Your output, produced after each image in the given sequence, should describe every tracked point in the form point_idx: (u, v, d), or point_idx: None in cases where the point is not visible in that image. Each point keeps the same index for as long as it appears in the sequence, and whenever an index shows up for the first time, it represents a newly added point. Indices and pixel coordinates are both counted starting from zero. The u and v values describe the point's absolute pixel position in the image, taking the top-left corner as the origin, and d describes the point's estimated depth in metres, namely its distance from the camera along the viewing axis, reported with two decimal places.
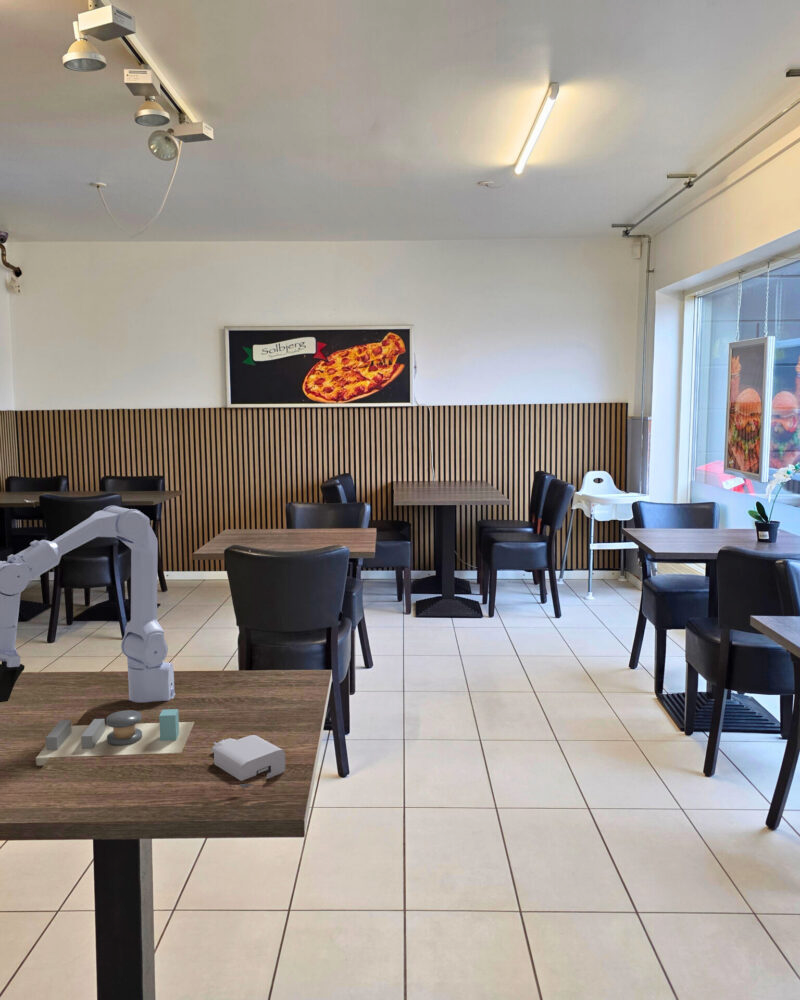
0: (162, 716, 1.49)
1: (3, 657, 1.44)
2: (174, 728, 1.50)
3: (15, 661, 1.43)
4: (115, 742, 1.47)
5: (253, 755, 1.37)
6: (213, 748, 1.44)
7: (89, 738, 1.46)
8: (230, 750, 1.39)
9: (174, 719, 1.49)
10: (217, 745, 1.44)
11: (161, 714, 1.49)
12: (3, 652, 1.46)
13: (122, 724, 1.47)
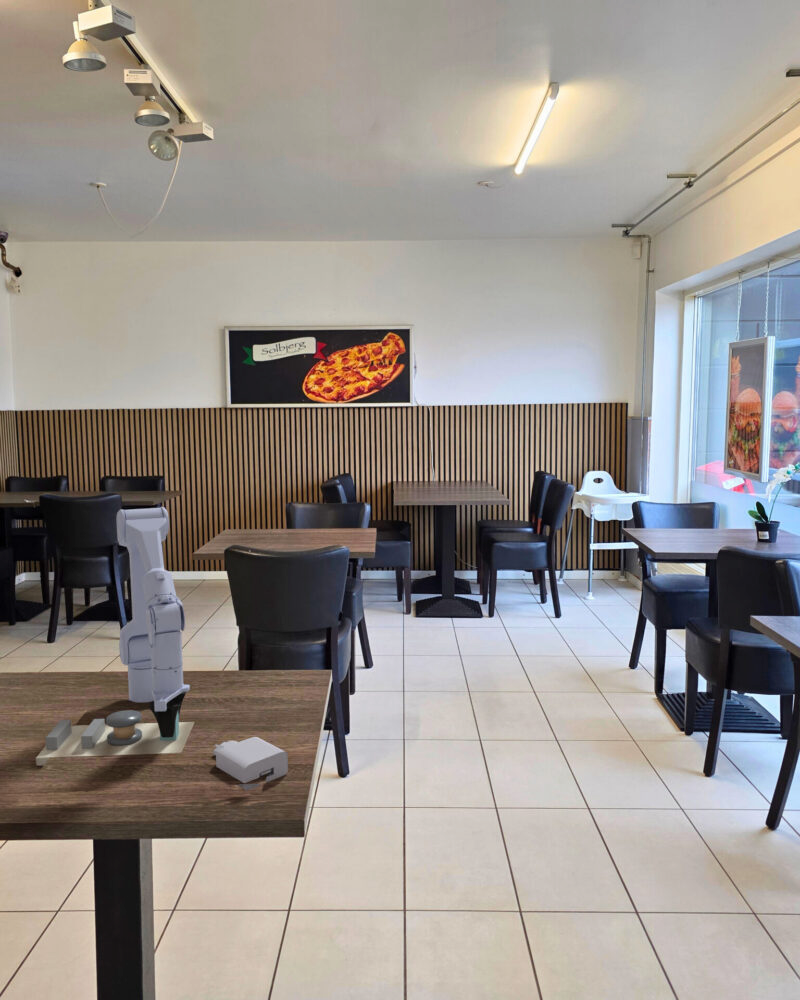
0: None
1: None
2: None
3: None
4: (115, 742, 1.47)
5: (256, 757, 1.36)
6: (215, 750, 1.43)
7: (89, 738, 1.46)
8: (232, 752, 1.38)
9: None
10: (219, 747, 1.43)
11: None
12: None
13: (122, 724, 1.47)
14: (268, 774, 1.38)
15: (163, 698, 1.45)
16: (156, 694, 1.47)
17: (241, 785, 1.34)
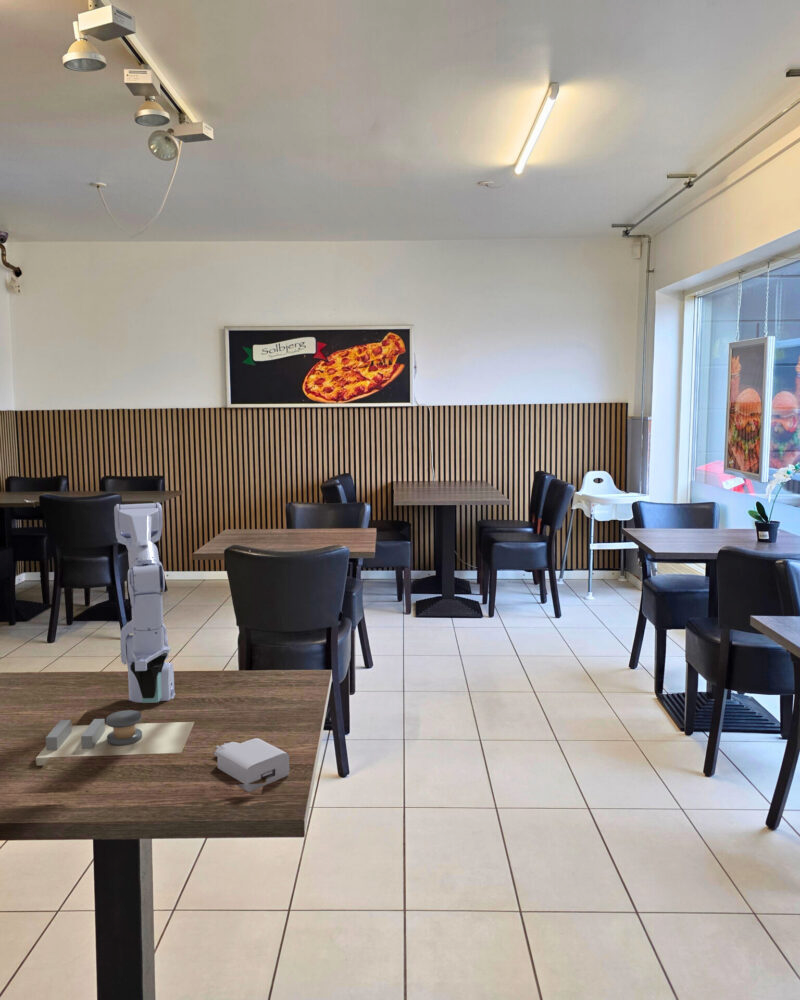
0: None
1: None
2: (156, 690, 1.51)
3: None
4: (115, 742, 1.47)
5: (257, 758, 1.36)
6: (216, 752, 1.43)
7: (89, 738, 1.46)
8: (234, 754, 1.37)
9: None
10: (220, 749, 1.43)
11: None
12: None
13: (122, 724, 1.47)
14: (269, 775, 1.37)
15: (144, 658, 1.46)
16: (137, 655, 1.48)
17: (242, 786, 1.33)
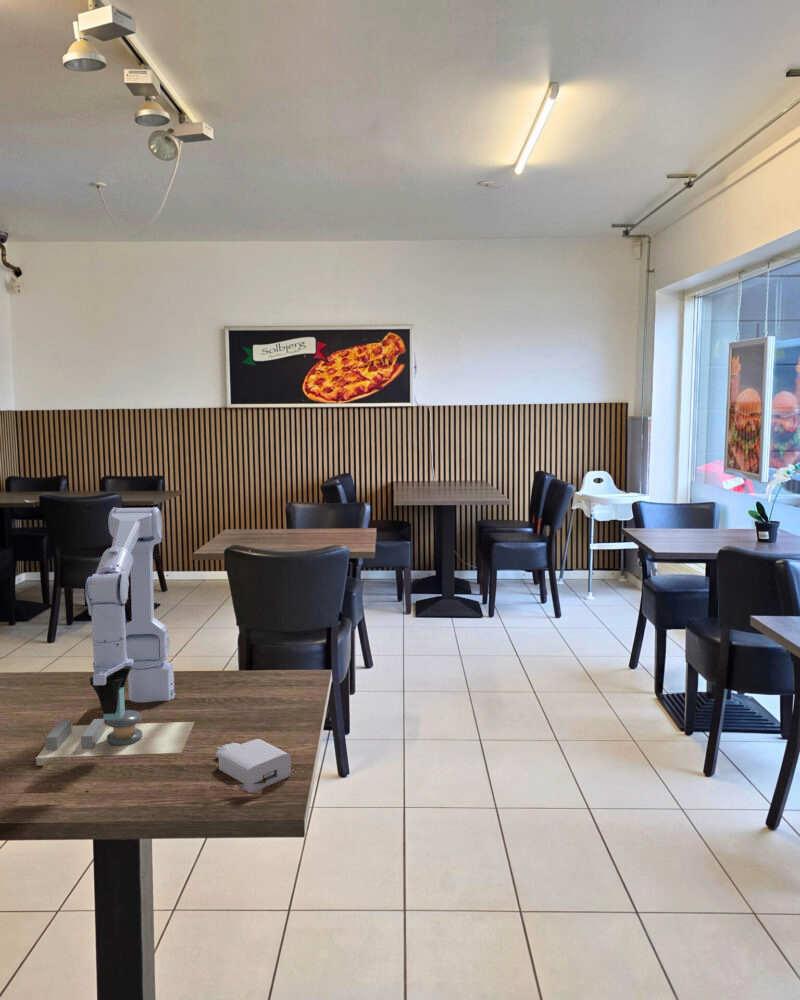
0: None
1: None
2: (118, 706, 1.43)
3: None
4: (115, 742, 1.47)
5: (259, 759, 1.35)
6: (217, 753, 1.42)
7: (89, 738, 1.46)
8: (235, 755, 1.37)
9: (118, 697, 1.43)
10: (221, 750, 1.42)
11: None
12: None
13: (122, 724, 1.47)
14: (271, 776, 1.37)
15: (103, 672, 1.38)
16: (97, 668, 1.40)
17: (244, 787, 1.33)
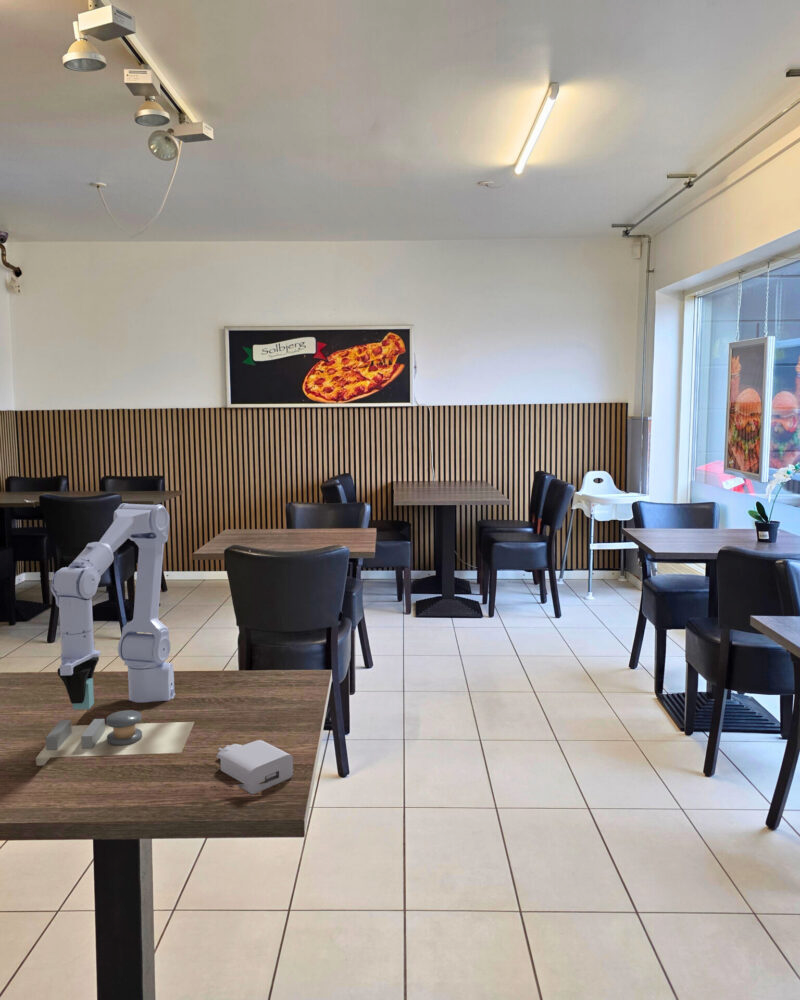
0: None
1: None
2: (87, 697, 1.48)
3: None
4: (115, 742, 1.47)
5: (261, 761, 1.35)
6: (219, 754, 1.42)
7: (89, 738, 1.46)
8: (237, 756, 1.37)
9: (87, 688, 1.48)
10: (223, 751, 1.42)
11: None
12: None
13: (122, 724, 1.47)
14: (273, 777, 1.37)
15: (70, 662, 1.43)
16: (64, 659, 1.45)
17: (246, 789, 1.32)
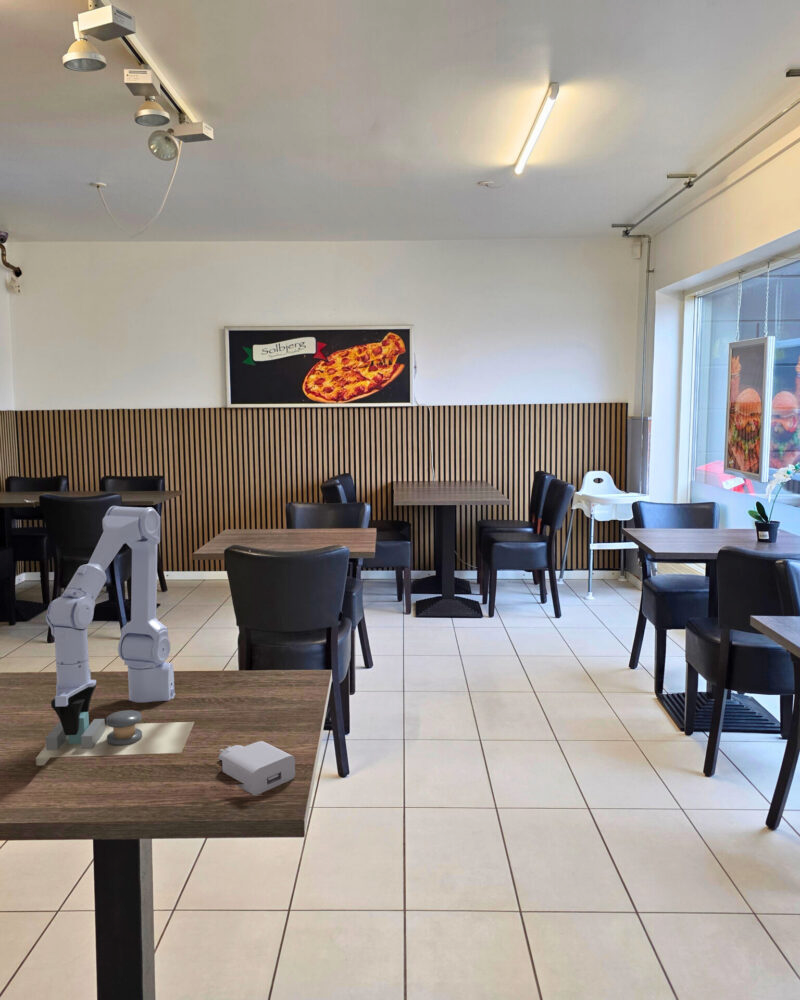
0: None
1: (89, 674, 1.54)
2: (83, 731, 1.48)
3: None
4: (115, 742, 1.47)
5: (263, 762, 1.34)
6: (220, 755, 1.41)
7: (89, 738, 1.46)
8: (239, 757, 1.36)
9: (82, 722, 1.48)
10: (224, 752, 1.42)
11: None
12: None
13: (122, 724, 1.47)
14: (275, 779, 1.36)
15: (65, 693, 1.43)
16: (60, 689, 1.45)
17: (249, 790, 1.32)
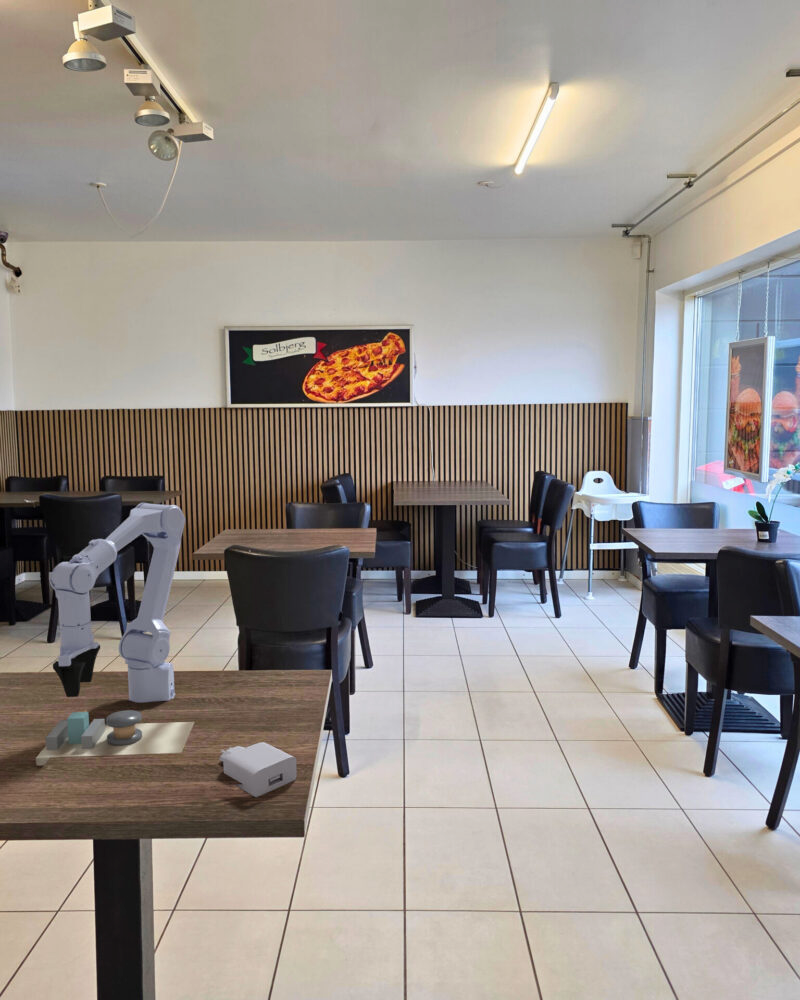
0: (70, 719, 1.48)
1: (92, 637, 1.59)
2: (83, 731, 1.48)
3: None
4: (115, 742, 1.47)
5: (265, 763, 1.34)
6: (221, 756, 1.41)
7: (89, 738, 1.46)
8: (240, 758, 1.36)
9: (82, 722, 1.48)
10: (225, 753, 1.41)
11: (69, 717, 1.48)
12: None
13: (122, 724, 1.47)
14: (277, 780, 1.36)
15: (68, 654, 1.49)
16: (63, 650, 1.51)
17: (250, 792, 1.32)
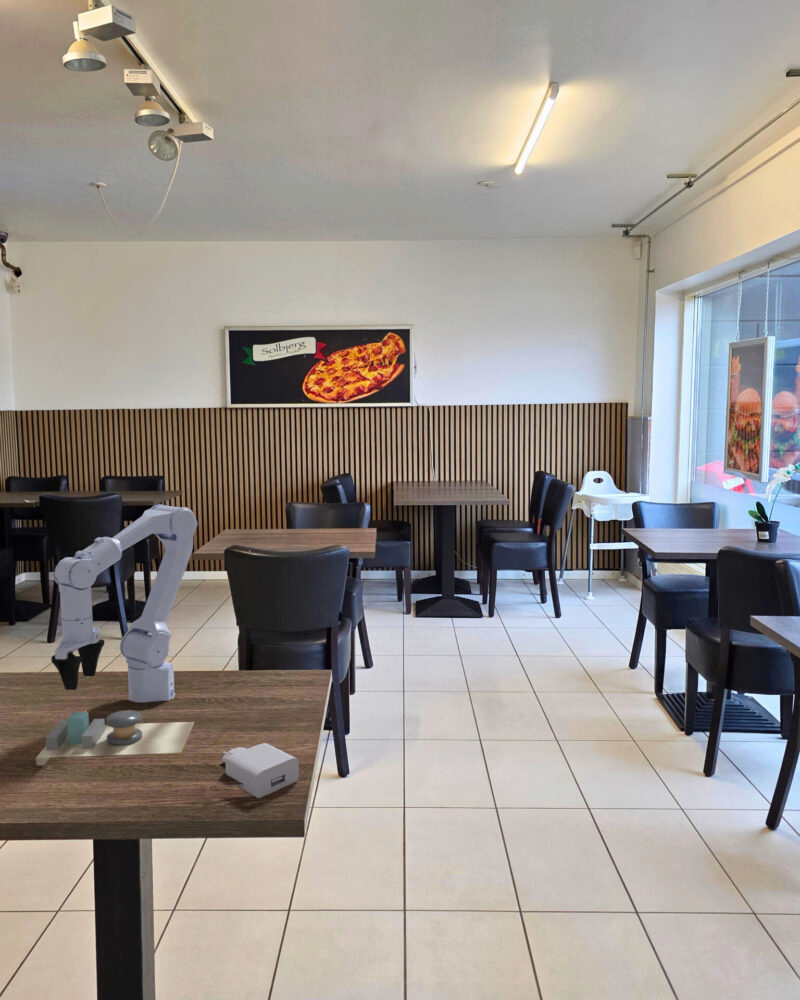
0: (70, 719, 1.48)
1: (97, 632, 1.63)
2: (83, 731, 1.48)
3: None
4: (115, 742, 1.47)
5: (267, 764, 1.33)
6: (223, 757, 1.40)
7: (89, 738, 1.46)
8: (243, 759, 1.35)
9: (82, 722, 1.48)
10: (227, 754, 1.41)
11: (69, 717, 1.48)
12: None
13: (122, 724, 1.47)
14: (279, 781, 1.35)
15: (66, 647, 1.52)
16: (63, 644, 1.55)
17: (252, 793, 1.31)
